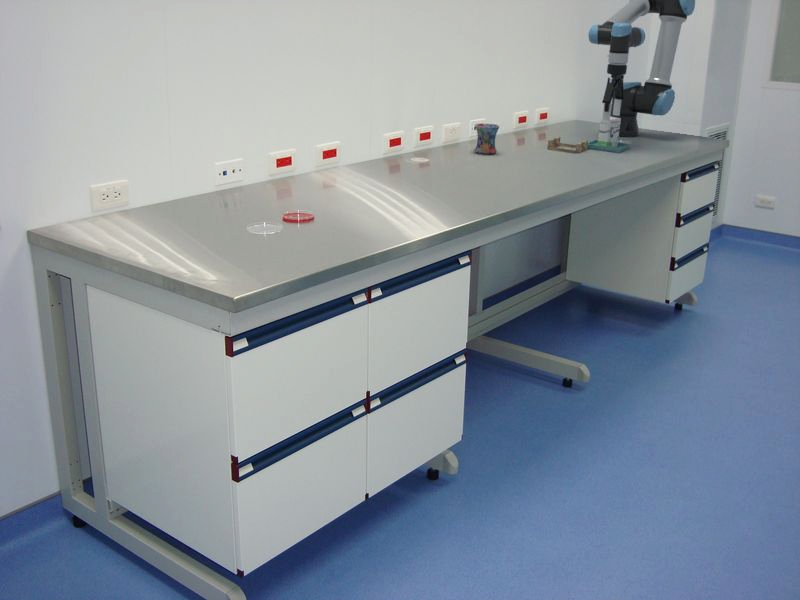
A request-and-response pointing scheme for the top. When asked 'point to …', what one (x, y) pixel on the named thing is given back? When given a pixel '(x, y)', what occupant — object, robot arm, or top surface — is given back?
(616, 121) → the ink box
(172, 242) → the top surface
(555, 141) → the frame
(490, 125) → the mug
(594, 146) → the tray
